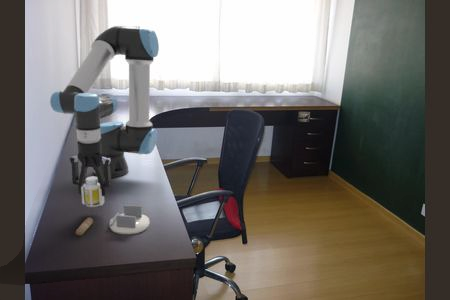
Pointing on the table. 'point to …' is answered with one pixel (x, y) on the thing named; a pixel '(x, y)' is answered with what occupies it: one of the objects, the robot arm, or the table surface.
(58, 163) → the table surface
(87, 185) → the supplement bottle
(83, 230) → the wick dowel
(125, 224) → the jar holder
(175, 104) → the table surface
